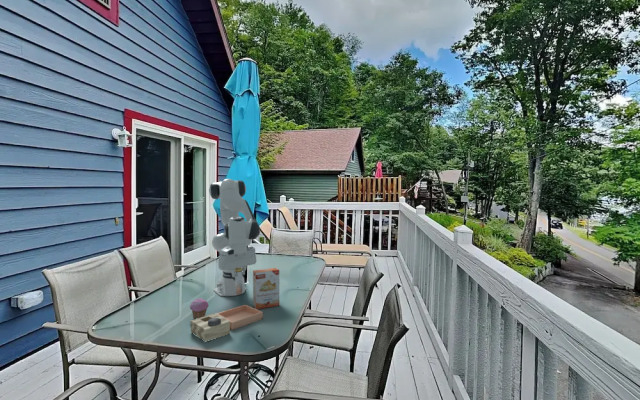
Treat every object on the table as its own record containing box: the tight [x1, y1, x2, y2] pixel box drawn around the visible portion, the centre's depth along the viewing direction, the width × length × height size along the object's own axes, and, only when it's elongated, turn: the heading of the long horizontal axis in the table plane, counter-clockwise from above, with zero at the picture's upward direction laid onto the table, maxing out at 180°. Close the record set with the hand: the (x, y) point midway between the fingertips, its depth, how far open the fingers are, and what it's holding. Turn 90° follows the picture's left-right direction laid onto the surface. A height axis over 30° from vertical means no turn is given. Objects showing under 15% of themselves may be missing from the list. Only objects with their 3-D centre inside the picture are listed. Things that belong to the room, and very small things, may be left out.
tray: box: [215, 304, 264, 331], centre depth 170 cm, size 16×18×4 cm
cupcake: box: [189, 297, 209, 319], centre depth 172 cm, size 9×9×10 cm
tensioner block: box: [190, 313, 231, 341], centre depth 154 cm, size 14×12×7 cm
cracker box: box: [252, 267, 280, 310], centre depth 188 cm, size 14×6×21 cm, turn 118°
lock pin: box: [235, 267, 243, 296], centre depth 169 cm, size 4×4×13 cm
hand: (238, 275), depth 169 cm, fingers closed on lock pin, 3 cm apart
